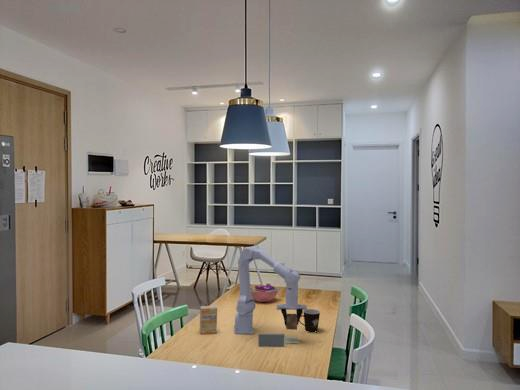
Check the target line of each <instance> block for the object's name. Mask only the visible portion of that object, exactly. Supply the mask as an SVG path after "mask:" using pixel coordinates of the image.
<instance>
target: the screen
mask: <svg viewBox="0 0 520 390" xmlns="http://www.w3.org/2000/svg"><path fill="white" fill-rule="evenodd" d="M284 337H285V333H258V345H257V346H258V347H285V344H284Z"/></svg>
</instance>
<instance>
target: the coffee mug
mask: <svg viewBox="0 0 520 390" xmlns="http://www.w3.org/2000/svg"><path fill="white" fill-rule="evenodd" d="M320 314H321V311H320V310H318V309H314V308H307V310H303V314H302V315H301V317H303V321H304V323H303V322H301V320H300V319H301V317H300V319H299V323H300V324H301V325H303V326H304V331H305V330H306V331H309V332H315V331H317V330H319V329H318V328H319V323H320ZM306 331H305V332H306ZM309 332H308V333H309ZM317 332H318V331H317ZM315 333H316V332H315Z"/></svg>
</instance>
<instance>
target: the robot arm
mask: <svg viewBox="0 0 520 390" xmlns="http://www.w3.org/2000/svg"><path fill="white" fill-rule="evenodd" d="M254 260H261V261H262V262H264V263H265V264H266V265H268V266H270V267H271V268H273V272H274V273H276V275H278V276H279V277H281V278H282V279H283V280H284V283H285V284H286V286H285V292H286V293H285V304H284V303H283V304H276V310H277V311H279V310H280V312H281V315H282V316H283V320H284V326H286V324H287V322H286V315H287V314H288V312H287V310H290V311H291V310H295V311H296V313H295V314H296V315H297V326H298V325H299V323H300V322H299V319H301V315H303V314H304V310H307V309H308V306H307V305H306V304H298V303H299V301H298V299H299V281H300V279H301V275H300V273H299V271H298V270H293V268H290V267H288V266H287V265H285V264H286V263H285V262H283V261H279V262H277V261H276V260H275V259H274V258H273V257H271V256H270V255H269V254H267V252H265V251H264V250H263V248H261V247H260V246H259V245H252V246H249V247H247V246H246V247H244V248H243V249H242V250H241V251H240V256H239V258H238V262H237V263H238V264H237V265H238V279H239V281H238V283H239V297H238V300H237V303H236V304H237V305H236V307H235V308H236V312H237V313H235V314H234V325H233V329H234V334H236V335H237V334H241V335H242V334H243V335H253V334H254V327H253V326H254V323H253V322H254V321H253V320H254V318H253V317H254V311H255V310H256V303H255V300H254V299H253V296H252V295H251V291H250V288H251V279H250V278H251V277H250V264H251V262H253V261H254Z"/></svg>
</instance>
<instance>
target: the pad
mask: <svg viewBox="0 0 520 390" xmlns="http://www.w3.org/2000/svg"><path fill="white" fill-rule="evenodd" d="M284 343H299V344H300V341H299V338H298V337H296V336H295V337H293V336H284Z"/></svg>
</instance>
